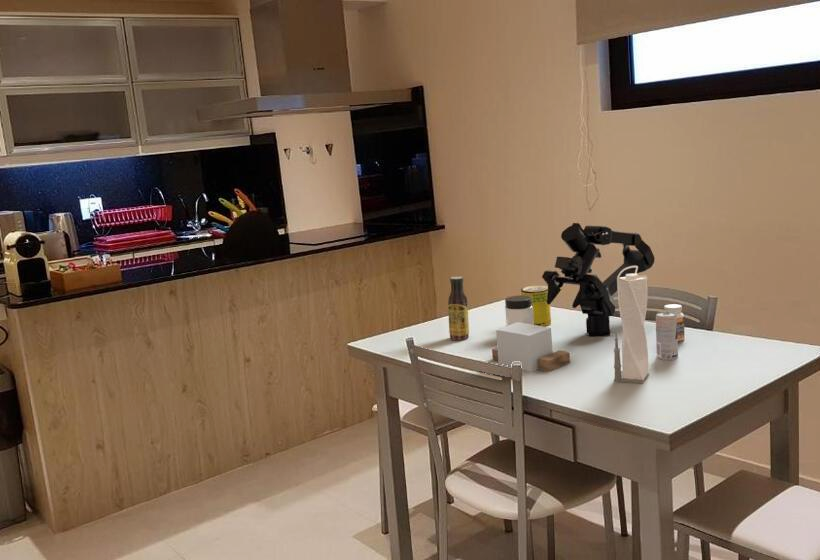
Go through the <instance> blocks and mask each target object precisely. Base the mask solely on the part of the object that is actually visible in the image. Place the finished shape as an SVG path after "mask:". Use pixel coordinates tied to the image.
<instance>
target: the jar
mask: <svg viewBox="0 0 820 560" xmlns="http://www.w3.org/2000/svg"><path fill="white" fill-rule="evenodd" d="M504 301H505V302H504V303H505V306H504V311H505V323H506V324H505V325H506V326H508V325H511V324H514V323H517V322H520V323H525V324H531V325H534V319H533V307H532V300H531V297H530V296H524V295H521V294H519V295H512V296H511V295H510V296H508V297H506V298H505V300H504Z"/></svg>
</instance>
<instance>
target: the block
mask: <svg viewBox="0 0 820 560" xmlns="http://www.w3.org/2000/svg"><path fill="white" fill-rule="evenodd" d="M495 332H496V335H495V336H496V343H497V344H496V345H497V346H496V347H497V348H498V360H497V361H498V365H501V364H504V365H503V366H506V365H508V366H507V367H510V366H511V364H512V362H513V361H520V362H522V369H521V370H523V371H529V372H534V371H536V370H540V369H539V364H538V359H539V358H541V357H544V356H546V355H549V354H551V353H554V352H553V341H552V340H553V339H552V327H549V326H546V327H543V326H537V325H531V324H525V323H520V322H517V323H514V324H511V325H508V326H503V327H500V328H497V329H495Z"/></svg>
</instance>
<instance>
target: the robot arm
mask: <svg viewBox="0 0 820 560" xmlns="http://www.w3.org/2000/svg"><path fill="white" fill-rule="evenodd" d="M560 236H561V237H560V238H561V240H562V241H563V242H564V243H565V245H566V246H567V247H568V249H570V251H571V252H573V253H575V254H574V255H573V256H572V257H568V256H556V260H555V264H554V268H555V269H559V270H561V271H560V273H562V274H563V275H564V276H563V275H562V276H561V275H560V274H559V273H558V271H557V270H548V269H547V270H545V271H543V274H542V276H541V278H542V280H544V282H545V283H546V284H547V287H548V294H547V304H548V305H550V306H551V304H552V303H553V302H554V300H555V299H556V298H557V296H558V295H559V293H560V292H561V291H562V289H561V288H562V287H563V286H564V284H567V285H576V286H579V289H578V292H577V293H576V296H575V297H574V300H573V302H572V306H571V307H572V308H573V309H576V308H578V306H580V309H581V312H582V315H587V317H586V319H585V321H586V322H585V325H586V333H587V334H588V335H587V336H588V337H601V336H603V337H605V336H607V337H608V336H611V325H610V321H611V320H610V317H612V316H613V315H614V314H615V313H616V306H615V305H614V303H613V302H612V296H614V294H615V293H618V288H617V277H618V275H619V273H620V272H621V271H622V270H623V269H624V268H626V267H629V266H638V270H637V274H640V273H643V272H646V271H648V270H650V269H651V268H653V265H654V264H655V256H654V253H653V251H652V249H651V247H650V245H648V244H647V243H646V242H645V241H644V240H643V239H642V236H641V235H640V234H639V233H637V232H623V231H617V230H612V228H610V227H609V226H605V225H589V224H588V225H585V226H584V229H583V228H582V225H581V224H580V223H579V222H573V223H572V224H571V225H570V226H568V227H566V228H565V229H564V230H563V231H561V235H560ZM610 244H617V245H622V247H623V248H622V252H621V253H622V255H623V263H622V264H621V265H620V266H618V268H617V269H616V270H615V271H613V272H612V273H611V274H609V276H608V277H607V278H606V279H605V280H603V281H602V280H601V279H600V278H599V276H598V275H597V274H592V273H593V269H592V268H591V267H592V265H593V264H594V261H595V259H596V258H597V259H601V258H602V254H601V252H600V248H597V246H606V245H610ZM630 246H632V247H635V248H636V249H631V248H630ZM635 270H636V268H629V269H626V270H624V271H623V272H622V273H621V274H620V276H619V278H620V277H626V274H631V273H634V274H635Z"/></svg>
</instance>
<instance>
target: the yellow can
mask: <svg viewBox="0 0 820 560" xmlns="http://www.w3.org/2000/svg"><path fill="white" fill-rule="evenodd" d="M520 291H521V292H520V293H521V294H520V295H524V296H530V297H531V300H532V307H533V319H534V325H537V326H543V327H549V326H551V325H552V317H551V316H552V315H551V304H550V305H548V304H547V294H548V285H547V286H546V285H529V286H525V287H522V288H521V289H520Z"/></svg>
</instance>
